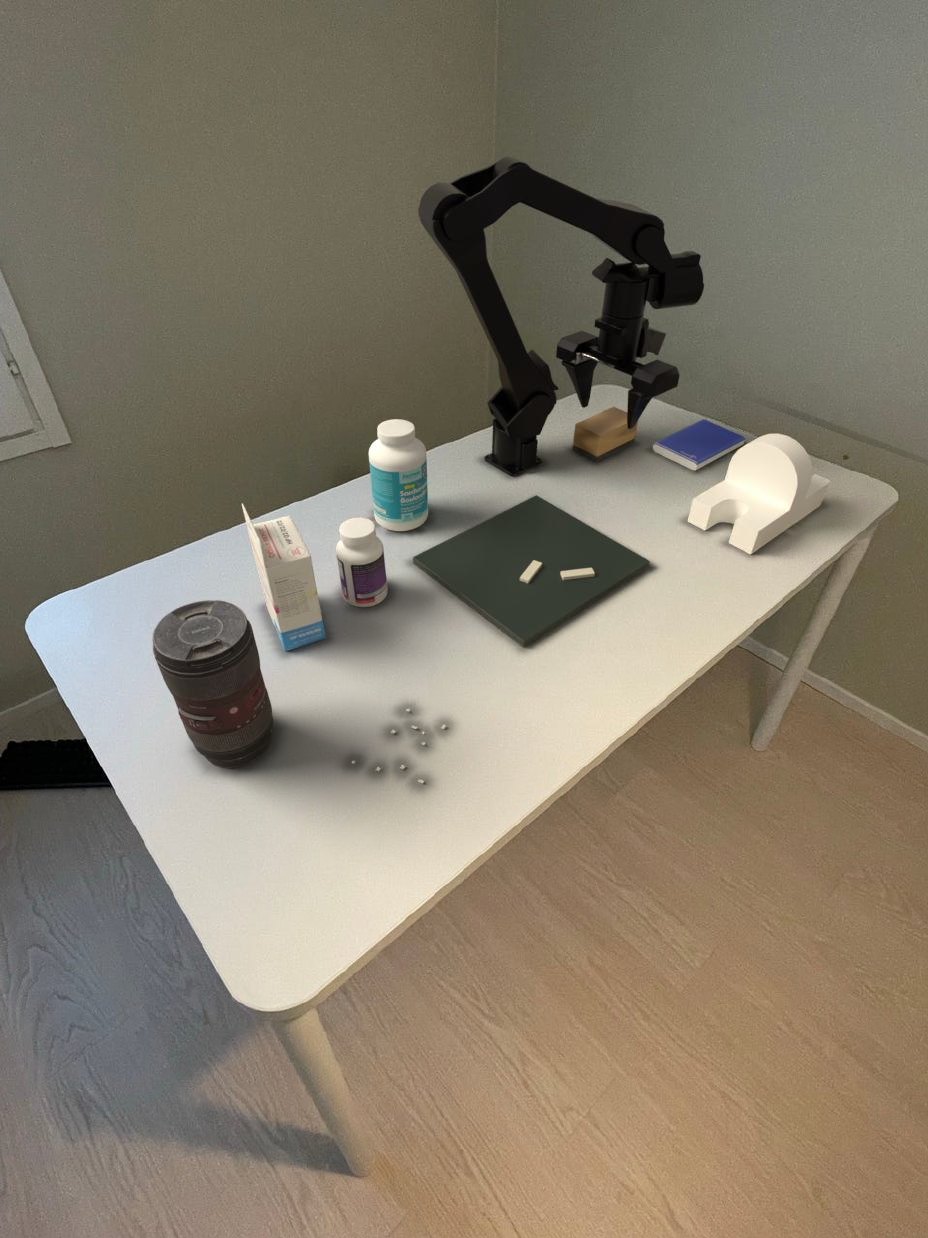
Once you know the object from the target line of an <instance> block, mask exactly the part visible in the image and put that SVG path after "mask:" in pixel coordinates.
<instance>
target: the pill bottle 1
mask: <svg viewBox="0 0 928 1238" xmlns="http://www.w3.org/2000/svg"><path fill="white" fill-rule="evenodd" d="M338 529H339V537H340V540H339V541H338V542H337V544H336V548H335V554H336V561H337V567H338V572H339V573H338V574H339V579H340V586H341V592H342V597H343V599H344V600H345V602H346V603H348V604H349V605H351V606H354V607H357V608H369V607H370V608H371V607H373V606H376V605H379V604H380V603H381V602H383V601H384V600H385V598H386V597H387V595H388V590H389V589H388V579H387V578H388V577H387V571H386V562H385V561H386V560H385V551H384V550H385V549H384V543H383V542H382V539H380V537H378V536H377V530H376V525H375V523H374V521H372V520H370V519H368V518H365V517H353V518H352V517H351V518H349V519H346V520H345V521H344V522H342V523H341V524H340V526H339V528H338Z"/></svg>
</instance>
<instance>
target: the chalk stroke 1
mask: <svg viewBox="0 0 928 1238" xmlns="http://www.w3.org/2000/svg"><path fill="white" fill-rule="evenodd" d="M541 566H542V563H541V562H538V561H535V560H533V562H532V563H531V564H530V565H529V567H528V568H527V569H526V570H525V572H524V573H523V574H522V575H521V577H520V581H522V582H525V583H529V582H530V581H531V579H532V578H533V577H534V575H535V574H536V573H537V572H538V570H539V569H540V568H541Z"/></svg>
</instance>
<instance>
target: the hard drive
mask: <svg viewBox="0 0 928 1238" xmlns="http://www.w3.org/2000/svg"><path fill="white" fill-rule="evenodd" d="M745 441H746V437H745V436H744V435H741V434H739V433H737V432H735V431H732V430H731V429H727V428H726V427H723V426H721V425H719V424H716V423H714V422H711V421H709V420H707V419H701V420H699V421H697V422H695V423H693V424H691V425H688V426H687V427H684V428H682V429H680V430H678V431H676V432H674V433H671V434H670V435H668V436H666V437H664V438H662V439H661V438H660V439H659V440H657V441H656V442H654V443H653V445H652V451H653V452H654V453H656V454H659V455H660V456H663V457H664V458H666V459H669V460H671V461H673V462H675V463H676V464H678V465H681V466H682V467H685V468H687V469H689V470H691V471H698V470H699V469H701V468H703V467H705V466H707V465H708V464H710V463H712V462H714V461H716V460H717V459H719V458H721V457H723V456H724V455H727V454H728V453H730V452H732V451H734V450H736V449H739V448H741V446H744V444H745Z"/></svg>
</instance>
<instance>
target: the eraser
mask: <svg viewBox="0 0 928 1238" xmlns="http://www.w3.org/2000/svg"><path fill="white" fill-rule="evenodd" d="M638 424H639V420H638V421H637V423H636V425H635V426H634V427H633V428H632V429H628V426H627V411H625V410H622V409H621V408H618V407H616V406H612V407H610V408H607V409H606V410H603V411H601V412H598V413H596V414H594V415H592V416H590V417H587V418H585V419H583V420H581V421H579V422H576V423H575V424H574V433H573V442H572V451H573V452H575V453H577V454H579V455H581V456H582V457H584V458H586V459H589V460H591V461H592V462H595V463H599V462H600V461H602V460H604V459H606V458H609V457H611V456H612V455H614V454H616V453H619V452H620V451H623V450H624V449H626V448H629V447H630V446H632V445H634V443H635V439H636V434H637V430H638Z"/></svg>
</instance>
